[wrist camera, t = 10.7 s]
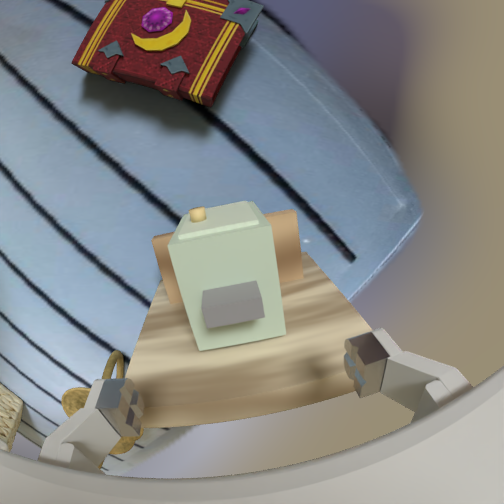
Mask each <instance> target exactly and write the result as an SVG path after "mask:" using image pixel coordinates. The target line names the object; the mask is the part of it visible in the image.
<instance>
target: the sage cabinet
mask: <svg viewBox="0 0 504 504" xmlns="http://www.w3.org/2000/svg"><path fill="white" fill-rule="evenodd" d="M168 250H169V253H170V257H171V261H172V265H173V268H174V272H175V275H176V279H177V282H178V286H179V289H180V292H181V296H182V299H183V302H184V306H185V309H186V312H187V315H188V318H189V321H190V325H191V328H192V331H193V334H194V337H195V340H196V343H197V346H198V348H199V351H203V350H209V349H215V348H221V347H227V346H232V345H238V344H243V343H248V342H253V341H258V340H263V339H268V338H273V337H277V336H282V335H286V328H285V320H284V312H283V305H282V297H281V290H280V283H279V275H278V268H277V261H276V254H275V247H274V240H273V233H272V227H271V224H270V223H269V222H268V220H267V219H266V218H265V216H264V215H263V214H262V212H261V211H260V210H259V209H258V207H257V206H256V205H255V203H254V202H253V201H251V202H247V201H242V202H237V203H231V204H226V205H221V206H216V207H211V208H206V209H205V208H204V207H196V208H193V209H190V210H189V214H185V215H184V216H183V218H182V219H181V221H180V223H179V225H178V227H177V229H176V230H175V232H174V234H173V236H172V238H171V240H170V242H169V244H168Z"/></svg>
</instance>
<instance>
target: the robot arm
mask: <svg viewBox="0 0 504 504" xmlns="http://www.w3.org/2000/svg"><path fill="white" fill-rule="evenodd" d="M344 348H345V349H346V351H347V352H346V354H345V355H344V367H345V371H346V373H347V375H348V377H349V379H352V380H354V385H353V387H354V388H355V390H356V392H357V394H358V396H359V397H360V398H363V397H365V396H369V395H371V394H374V393H377V392H380V393H382V394H384V395H386V396H387V397H389V398H391V399H392V400H394V401H396V402H398V403H399V404H401V405H403V406H405V407H407V408H408V409H410V410H412V411H414V412H415V414H414V416H413V419H412V421H411V423H410V424H408V425H406V426H404V427H402V428H399V429H397V430H395V431H393V432H390V433H388V434H386V435H383V436H381V437H379V438H376V439H373V440H371V441H368V442H366V443H363V444H360V445H358V446H355V447H352V448H349V449H346V450H343V451H340V452H337V453H334V454H330V455H327V456H324V457H320V458H316V459H313V460H309V461H305V462H301V463H297V464H293V465H289V466H284V467H279V468H274V469H268V470H263V471H257V472H251V473H245V474H237V475H228V476H218V477H206V478H182V479H156V478H134V477H122V476H112V475H106V474H105V473H104V472H103V471H101V470H100V469H99V468H98V466H99V465H100V464H101V463H102V461H103V460H104V459H105V457H106V456H107V455H108V454H109V452H110V451H111V450H112V449H113V447H114V446H115V445H116V443H117V442H118V441H119V440H120V438H121V437H132V436H140V431H141V425H142V423H141V421H140V420H139V418H140V417H141V416H142V415H143V413H144V402H143V399H142V396H141V395H140V393H139V392H138V391H136V390H134V383H133V382H132V380H131V379H129V378H120V379H96V380H95V381H94V382H93V385H92V387H91V390H90V393H89V395H88V398H87V401H86V403H85V406H84V408H80V409H79V410H78V411H77V412H76V413H75V414H73V415H72V416H71V417H70V418H69V419H68V420H66V421H65V422H64V423H63V424H62V425H61V426H59V427H58V428H57V429H56V430H55V431H54V432H52V433H51V434H50V435H49V436H48V437H47V438H45V441H44V444H43V446H42V449H41V452H40V455H39V458H38V461H36V460H32V459H29V458H25V457H22V456H19V455H16V454H13V453H10V452H8V451H5V450H2V449H0V504H504V366H502V367H501V368H500V369H499V370H497V371H496V372H495V373H493V374H492V375H491V376H489V377H488V378H486V379H485V380H483V381H482V382H481V383H479V384H478V385H476V386H475V387H473V386H471V384H470V383H469V382H468V381H467V380H466V378H465V377H464V376H463V375H462V374H461V373H460V372H459V371H458V369H457V368H455V367H451V366H449V365H446V364H443V363H440V362H437V361H434V360H431V359H428V358H425V357H422V356H419V355H416V354H414V353H411V352H408V351H405V352H402V350H401V349H400V348H399V347H398V346H397V344H396V343H395V342H394V341H393V339H392V338H391V337H390V336H389V335H388V334H387V332H386V331H385V330H384V329H383V328H379V329H376V330H373V331H370V332H367V333H364V334H361V335H358V336H355V337H351V338H348V339H346V340H345V343H344Z"/></svg>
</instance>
